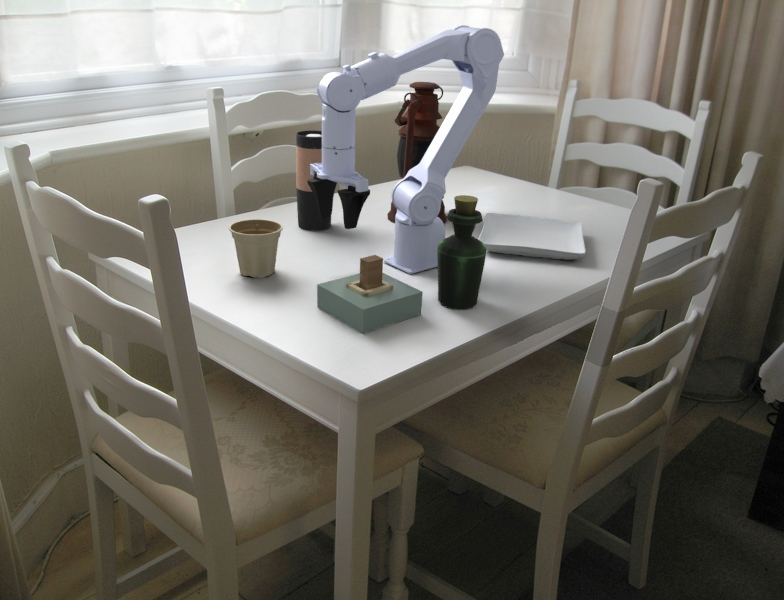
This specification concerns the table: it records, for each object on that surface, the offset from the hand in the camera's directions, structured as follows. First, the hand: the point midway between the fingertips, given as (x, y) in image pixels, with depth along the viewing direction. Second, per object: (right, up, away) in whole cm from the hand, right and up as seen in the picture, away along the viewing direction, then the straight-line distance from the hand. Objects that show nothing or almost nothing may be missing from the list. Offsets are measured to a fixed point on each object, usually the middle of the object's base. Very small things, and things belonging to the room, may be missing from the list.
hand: (337, 222), depth 126 cm
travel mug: (-7, +2, +28) cm, 29 cm away
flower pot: (-15, -9, +2) cm, 17 cm away
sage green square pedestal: (+6, -16, -12) cm, 20 cm away
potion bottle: (+21, -14, -7) cm, 26 cm away
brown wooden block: (+6, -15, -12) cm, 20 cm away
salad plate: (+39, -3, +23) cm, 45 cm away
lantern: (+15, +5, +37) cm, 40 cm away
